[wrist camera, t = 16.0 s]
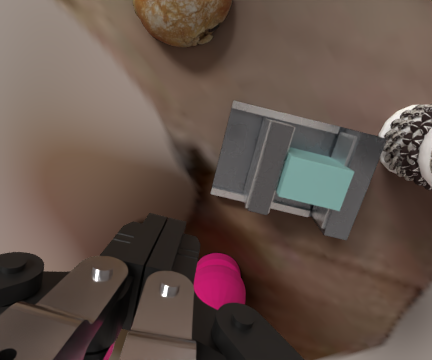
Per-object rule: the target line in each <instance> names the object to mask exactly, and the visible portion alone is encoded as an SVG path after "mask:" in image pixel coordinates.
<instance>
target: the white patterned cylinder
mask: <svg viewBox="0 0 432 360" xmlns="http://www.w3.org/2000/svg"><path fill="white" fill-rule="evenodd" d="M378 137H382V138H386V139H387V141H386V143H385V146H384V148H383V151H382V153H381V156H380V158H379V159H380V162H381V163H382V164H383V165H384V166H385V167H386V168H387V169H388V171H391V172H393V173H395V174H397V176H399V177H403V176H405V177H404V178H405V180H407V181H412V180H414V183H415V184H417V185H423V187H424V188H425V189H427V190H432V104H430V105H423V104H421V105H411V106H409V107H406V108H404V109H401V110H398V111H397V112H396V113H395V114H394V115H392V116H391V117H390V118H389V119H388V120H387V121H386V122H385V124H384V125H383V127H382V129H381V131H380V133H379V134H378Z"/></svg>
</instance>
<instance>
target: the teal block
mask: <svg viewBox="0 0 432 360" xmlns="http://www.w3.org/2000/svg"><path fill="white" fill-rule="evenodd" d="M354 172H355V171H353V170H351V169H349V168H348V167H346V166H344V165H342V164H341V163H339V162H337V161H336V160H334V159H332V158H330V157H328V156H324V155H320V154H316V153H312V152H308V151H303V150H299V149H295V148H291V147H289V150H288V153H287V157H286V160H285V163H284V166H283V170H282V173H281V176H280V179H279V182H278V186H277V189H276V192H277V194H278V196H279V197H283V198H287V199H291V200H296V201H300V202H304V203H308V204H312V205H316V206H320V207H325V208H329V209H333V210H337V211H340V208H341V206H342V203H343V201H344V198H345V195H346V193H347V190H348V187H349V185H350V182H351V180H352V177H353V174H354Z"/></svg>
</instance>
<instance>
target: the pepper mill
mask: <svg viewBox="0 0 432 360" xmlns="http://www.w3.org/2000/svg"><path fill="white" fill-rule="evenodd" d="M194 291H195V293H196V295H197V296H198V297H199V298H200V299H201V300H202V301H203V302H204V303H206V304H207V305H209V306H211V307H213V308H215V309H217V310H218V309H219V308H220V307H221V306H222V305H224V304H226V303H241V304H244V305H245V296H246V290H245V285H244V283H243V281H242V279H241V275H240V269H239V266H238V264H237V263H236V261H235V260H234V259H233V258H231V257H230V256H228V255H225V254H221V253H212V254H208V255H206V256H204V257H203V258H201V259H200V260H199V261H198V263H197V267H196V273H195V279H194Z"/></svg>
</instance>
